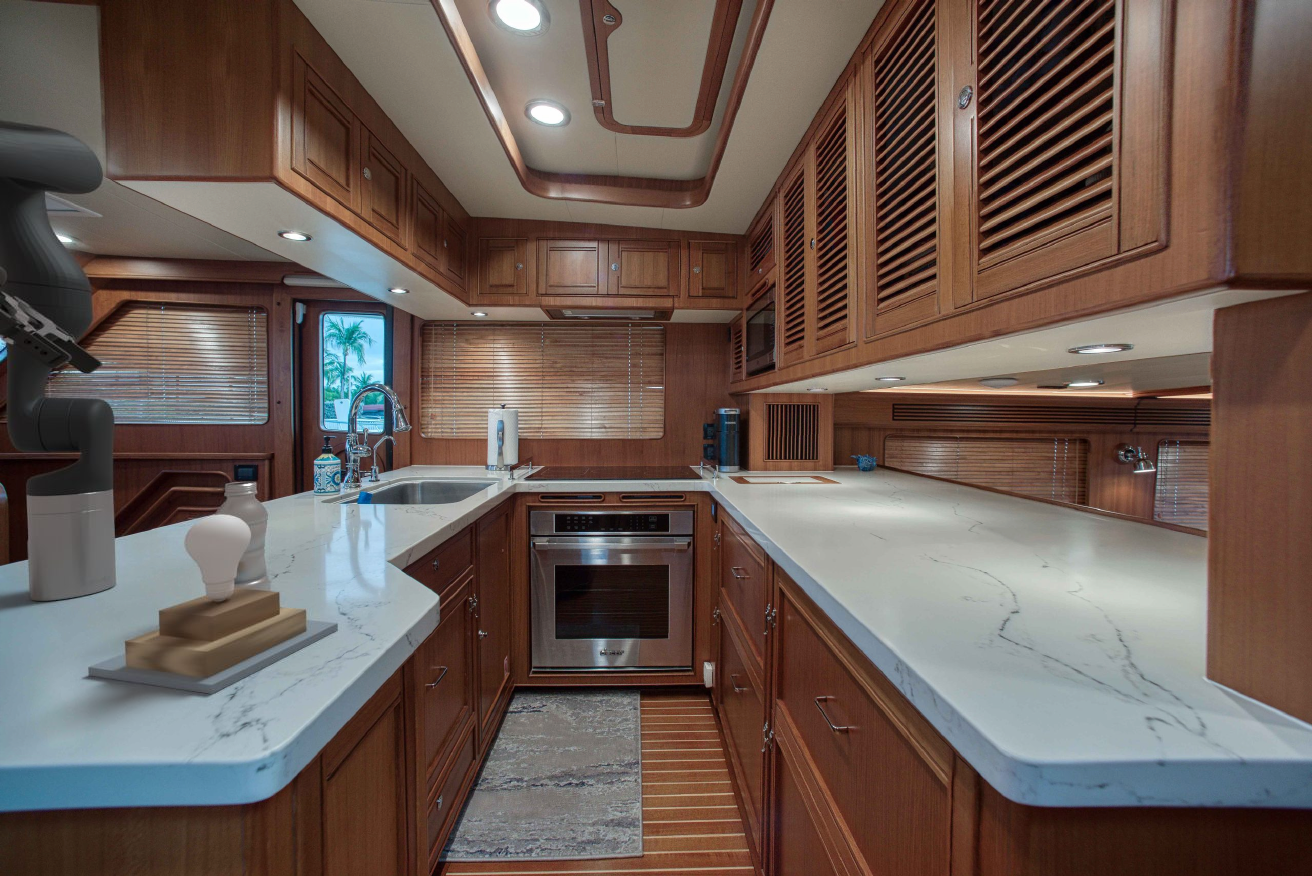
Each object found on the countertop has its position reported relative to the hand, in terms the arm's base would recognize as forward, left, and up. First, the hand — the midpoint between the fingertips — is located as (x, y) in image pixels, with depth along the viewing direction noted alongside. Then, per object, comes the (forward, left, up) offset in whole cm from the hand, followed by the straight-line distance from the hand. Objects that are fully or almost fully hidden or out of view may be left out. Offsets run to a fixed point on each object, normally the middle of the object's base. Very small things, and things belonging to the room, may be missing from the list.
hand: (80, 366), depth 58 cm
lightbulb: (+17, +3, -30) cm, 34 cm away
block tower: (+17, +3, -36) cm, 40 cm away
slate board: (+16, +4, -36) cm, 40 cm away
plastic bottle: (+4, +15, -37) cm, 40 cm away
